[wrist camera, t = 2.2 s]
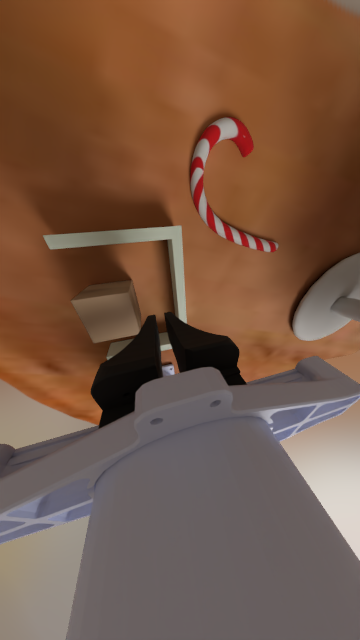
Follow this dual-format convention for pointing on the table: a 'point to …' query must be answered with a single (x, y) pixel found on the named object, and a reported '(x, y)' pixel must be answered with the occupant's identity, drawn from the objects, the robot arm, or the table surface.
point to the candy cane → (209, 138)
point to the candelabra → (330, 301)
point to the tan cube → (109, 310)
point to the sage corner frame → (128, 236)
